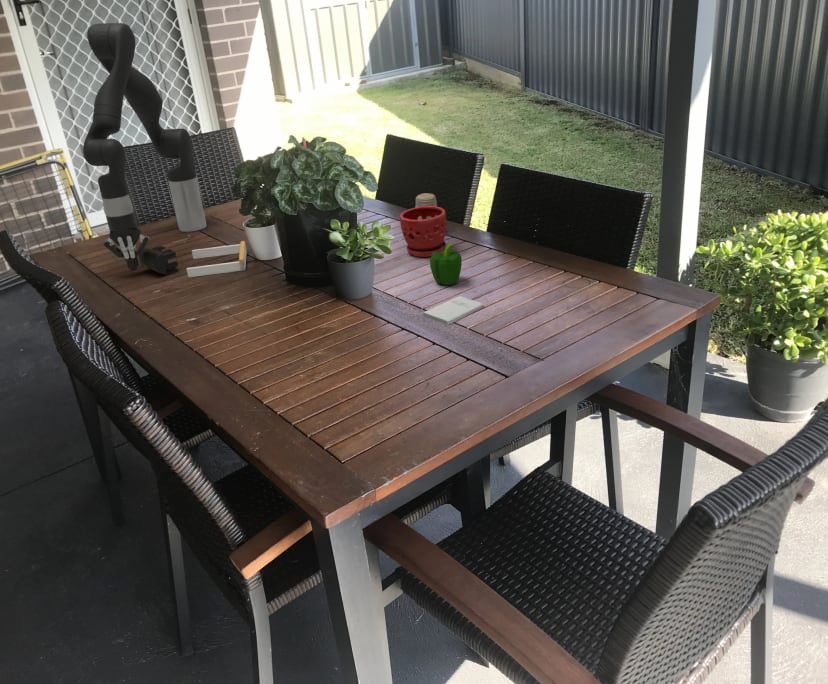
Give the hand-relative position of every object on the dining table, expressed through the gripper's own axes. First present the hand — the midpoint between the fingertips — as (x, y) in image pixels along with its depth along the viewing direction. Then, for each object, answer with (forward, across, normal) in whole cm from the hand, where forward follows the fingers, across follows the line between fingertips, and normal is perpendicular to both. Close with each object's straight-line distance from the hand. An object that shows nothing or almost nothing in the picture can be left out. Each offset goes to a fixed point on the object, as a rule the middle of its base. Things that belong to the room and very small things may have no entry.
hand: (134, 269), depth 212 cm
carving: (+1, -88, -5) cm, 88 cm away
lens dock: (+2, -24, 0) cm, 24 cm away
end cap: (+2, -7, 0) cm, 8 cm away
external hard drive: (+2, -83, +56) cm, 100 cm away
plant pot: (+2, -84, +12) cm, 85 cm away
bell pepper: (+2, -85, +37) cm, 93 cm away
